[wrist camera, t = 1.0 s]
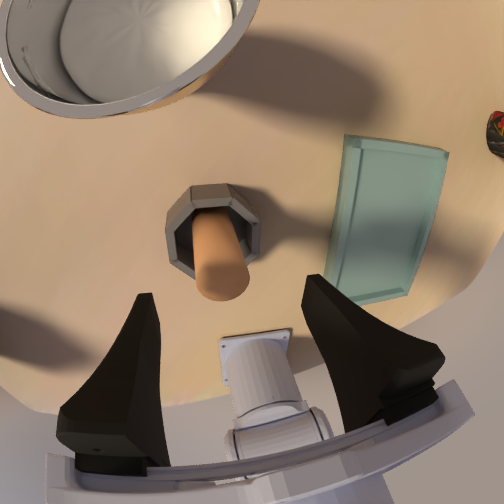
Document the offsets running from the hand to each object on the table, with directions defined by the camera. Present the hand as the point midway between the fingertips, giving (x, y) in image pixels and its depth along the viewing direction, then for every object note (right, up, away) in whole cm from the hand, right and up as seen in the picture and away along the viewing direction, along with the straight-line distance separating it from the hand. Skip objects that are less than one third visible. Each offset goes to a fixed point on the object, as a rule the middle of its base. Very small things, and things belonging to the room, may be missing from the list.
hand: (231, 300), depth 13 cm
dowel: (-2, +5, +10) cm, 11 cm away
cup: (-2, +4, +10) cm, 11 cm away
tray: (+14, +5, +14) cm, 21 cm away
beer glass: (-5, +16, +3) cm, 17 cm away
